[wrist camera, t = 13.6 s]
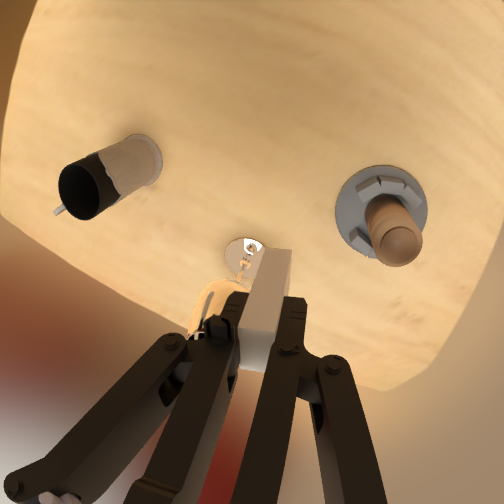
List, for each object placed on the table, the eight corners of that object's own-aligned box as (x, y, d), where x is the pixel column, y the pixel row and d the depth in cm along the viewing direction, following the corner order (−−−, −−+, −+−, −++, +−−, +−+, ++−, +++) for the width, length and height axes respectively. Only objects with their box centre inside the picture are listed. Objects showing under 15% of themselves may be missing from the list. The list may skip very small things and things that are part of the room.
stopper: (368, 190, 39) (380, 218, 31) (409, 197, 38) (429, 226, 30) (360, 230, 42) (369, 266, 34) (399, 236, 41) (415, 272, 33)
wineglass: (238, 228, 47) (190, 312, 30) (280, 254, 48) (255, 348, 31) (216, 262, 51) (168, 348, 34) (256, 285, 52) (224, 379, 35)
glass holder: (171, 172, 45) (116, 209, 32) (113, 206, 50) (58, 246, 37) (146, 124, 41) (82, 145, 29) (90, 165, 47) (30, 196, 34)
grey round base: (339, 159, 39) (341, 166, 36) (433, 173, 36) (442, 180, 33) (330, 249, 46) (330, 262, 43) (414, 258, 43) (420, 270, 40)
